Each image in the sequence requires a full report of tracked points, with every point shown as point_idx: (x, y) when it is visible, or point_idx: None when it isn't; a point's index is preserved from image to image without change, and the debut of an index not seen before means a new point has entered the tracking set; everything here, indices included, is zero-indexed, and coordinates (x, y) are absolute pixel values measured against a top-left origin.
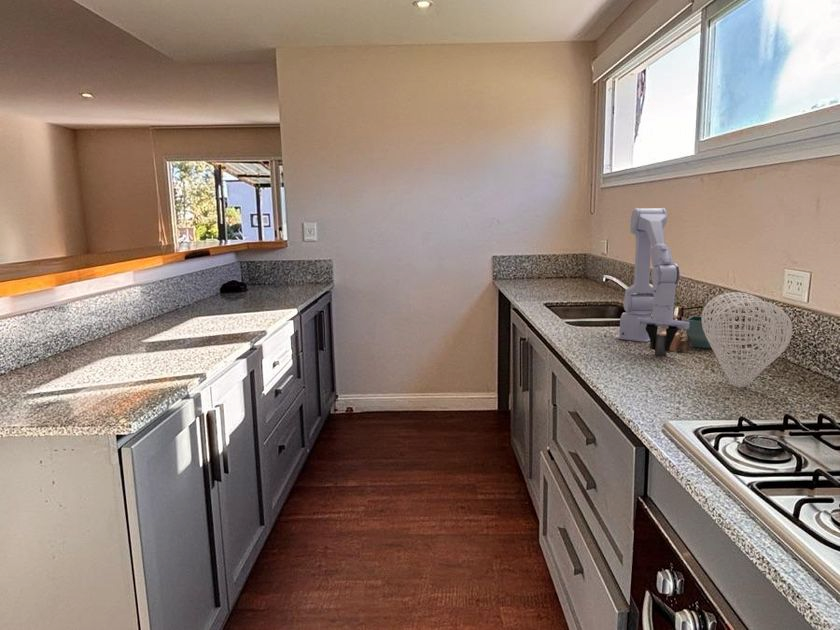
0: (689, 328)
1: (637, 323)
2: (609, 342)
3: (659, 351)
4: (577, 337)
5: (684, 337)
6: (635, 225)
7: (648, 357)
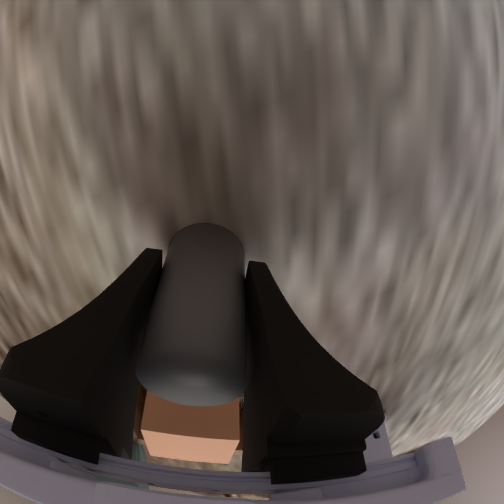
0: None
1: (446, 446)
2: (432, 371)
3: (205, 241)
4: (495, 370)
5: (140, 437)
6: None
7: (281, 134)
